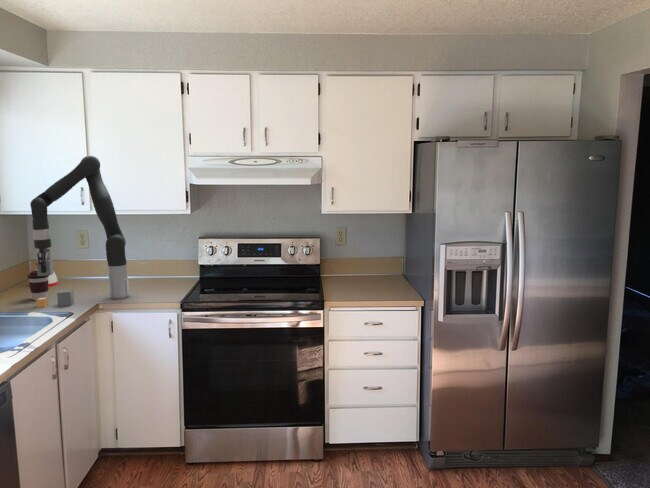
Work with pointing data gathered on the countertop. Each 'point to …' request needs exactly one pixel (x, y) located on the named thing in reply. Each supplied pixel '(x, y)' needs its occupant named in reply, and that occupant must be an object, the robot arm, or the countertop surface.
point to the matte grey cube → (65, 298)
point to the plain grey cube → (48, 268)
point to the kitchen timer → (51, 279)
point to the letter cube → (42, 302)
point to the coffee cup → (38, 285)
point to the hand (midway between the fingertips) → (45, 271)
